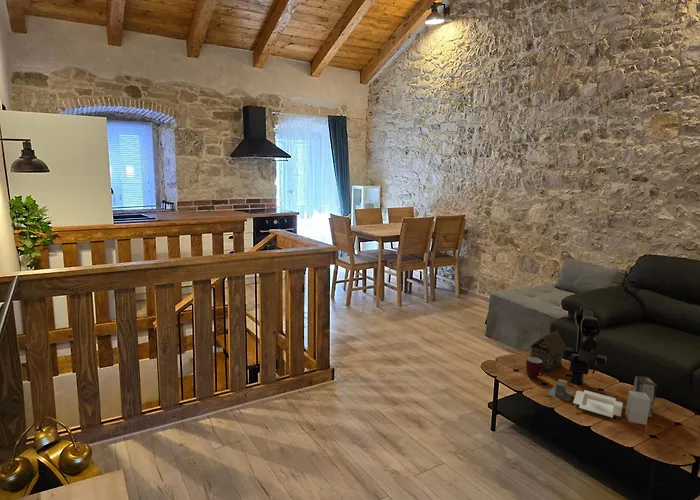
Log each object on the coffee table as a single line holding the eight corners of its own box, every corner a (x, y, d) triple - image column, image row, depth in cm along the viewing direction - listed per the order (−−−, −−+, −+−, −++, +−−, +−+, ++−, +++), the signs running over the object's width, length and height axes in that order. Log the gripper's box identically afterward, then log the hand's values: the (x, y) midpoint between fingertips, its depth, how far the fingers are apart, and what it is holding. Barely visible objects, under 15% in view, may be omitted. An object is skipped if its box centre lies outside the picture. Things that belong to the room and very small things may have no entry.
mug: (547, 380, 252) (549, 362, 250) (538, 383, 248) (541, 366, 246) (529, 372, 261) (532, 355, 259) (521, 375, 256) (523, 358, 254)
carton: (577, 392, 240) (577, 388, 239) (622, 404, 229) (622, 400, 229) (571, 409, 222) (572, 405, 222) (619, 424, 212) (620, 419, 211)
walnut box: (557, 389, 241) (558, 378, 239) (566, 392, 238) (567, 381, 237) (554, 395, 234) (556, 384, 233) (563, 398, 232) (565, 387, 231)
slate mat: (551, 388, 243) (551, 387, 243) (572, 394, 238) (572, 392, 238) (547, 395, 235) (548, 394, 235) (569, 402, 230) (569, 400, 229)
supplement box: (642, 417, 218) (646, 393, 216) (646, 426, 211) (651, 400, 209) (624, 414, 220) (628, 389, 218) (628, 422, 213) (632, 397, 211)
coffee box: (652, 417, 219) (658, 385, 216) (637, 415, 220) (642, 383, 217) (644, 407, 228) (649, 377, 225) (629, 405, 229) (635, 375, 226)
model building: (550, 374, 259) (554, 340, 255) (525, 365, 270) (529, 332, 266) (564, 366, 271) (569, 333, 267) (541, 357, 282) (545, 326, 278)
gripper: (564, 342, 231) (560, 372, 234) (606, 352, 221) (601, 382, 224) (567, 336, 240) (563, 364, 243) (608, 345, 230) (603, 374, 233)
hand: (582, 371), depth 236 cm, fingers open, 9 cm apart
